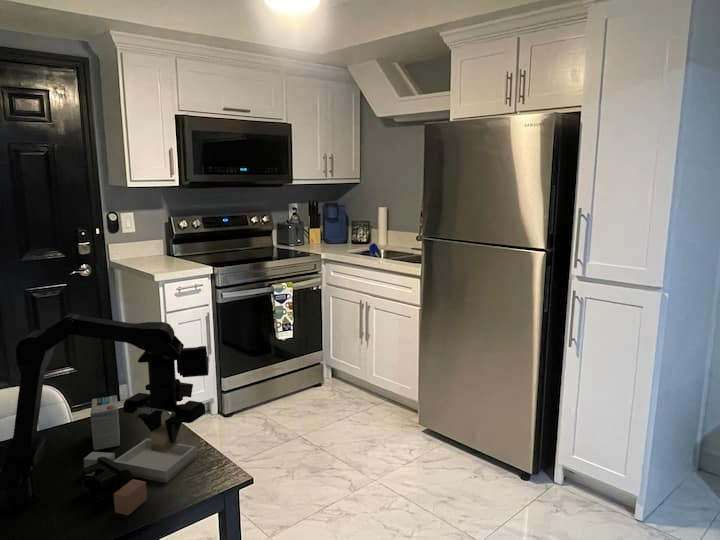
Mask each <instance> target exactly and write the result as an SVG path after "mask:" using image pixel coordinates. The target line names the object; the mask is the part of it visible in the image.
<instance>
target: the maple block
mask: <svg viewBox="0 0 720 540" xmlns="http://www.w3.org/2000/svg"><path fill="white" fill-rule="evenodd" d="M181 436H182V435H181V427H180V428H179V432H178V435H177V438H176V441H175V443H173V444H171V442H170V439H169V436H168V431H167V427H166V423H165V422H164V423H163V424H161V426H160V427H158V428H157V429H155V430H154V431H152V432H151V431H150V439H151V448H152V451H155V452H160V453H166V452H167V451H168V450H170V449H171V448H172V447H174V446H175V445H176V444H178V443H179V444H180V442H182V437H181Z"/></svg>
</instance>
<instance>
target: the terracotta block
mask: <svg viewBox="0 0 720 540" xmlns="http://www.w3.org/2000/svg"><path fill="white" fill-rule="evenodd" d="M147 493H148V492H147V482H146V481H143V480H139V479H134V478H133V480H131V481H130V482H129V483H127V484H126V485H125V486H123V487H122V488H121V489H119V490H118V491H117V492H116V493H114V501H113V503H114V512H115V513H116V514H120V515H125V516H129V515H131V514H132V513H133V512H134V511H136V509H138V508H139V507H140V506H142V504H143V503H145V502H146V501H147V500H148V494H147Z"/></svg>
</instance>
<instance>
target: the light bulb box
mask: <svg viewBox="0 0 720 540" xmlns="http://www.w3.org/2000/svg"><path fill="white" fill-rule="evenodd" d="M118 405H119V404H118V395H109V396H104V397H98V398H92V399H91V408H90V414H89V416H90V425H91V434H92V445H93V451H99V450H102V449H103V450H104V449H108V448H114V447H118V446H120V442H121V441H120V438H121V437H120V436H121V435H120V434H121V433H120V418H119V417H120V416H119V406H118Z"/></svg>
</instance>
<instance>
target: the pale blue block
mask: <svg viewBox="0 0 720 540" xmlns="http://www.w3.org/2000/svg"><path fill="white" fill-rule="evenodd" d="M99 457H107V458H109V459H110V460H112V461H114V460H116V454H115V452H106V451H105V452H101V451H91V452H90V453H89V454H88V455H87V456H85V457H84V458H83V468H86V467H88V466H90V465H92V464H95V463H97V462H98V461H97V458H99ZM94 474H95V472H92V473H90V474H86V475H84V476H89V477H91V476H93V475H94Z"/></svg>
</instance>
